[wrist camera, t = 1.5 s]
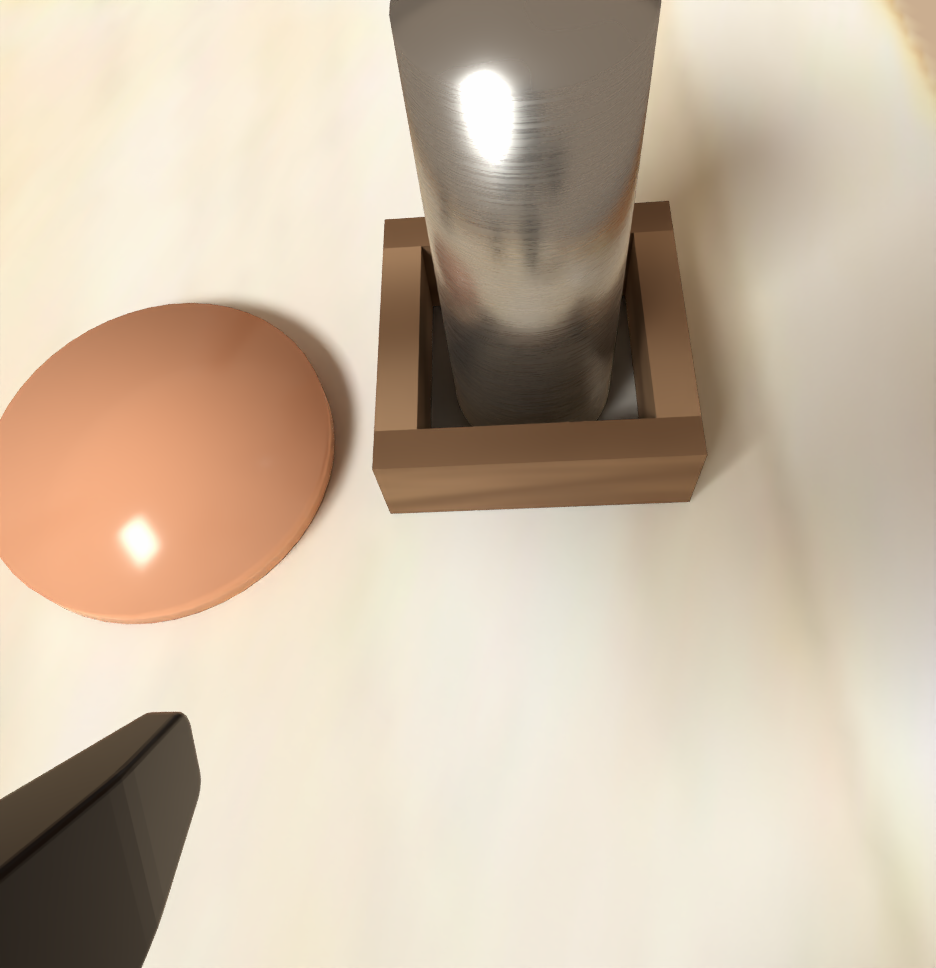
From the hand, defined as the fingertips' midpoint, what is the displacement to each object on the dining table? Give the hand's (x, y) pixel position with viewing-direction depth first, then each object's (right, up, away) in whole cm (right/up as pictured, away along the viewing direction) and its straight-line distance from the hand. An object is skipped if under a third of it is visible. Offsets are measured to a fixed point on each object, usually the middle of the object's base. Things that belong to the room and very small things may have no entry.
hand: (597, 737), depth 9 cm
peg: (+1, +6, +18) cm, 19 cm away
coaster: (-11, +4, +18) cm, 21 cm away
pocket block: (+1, +6, +18) cm, 19 cm away
